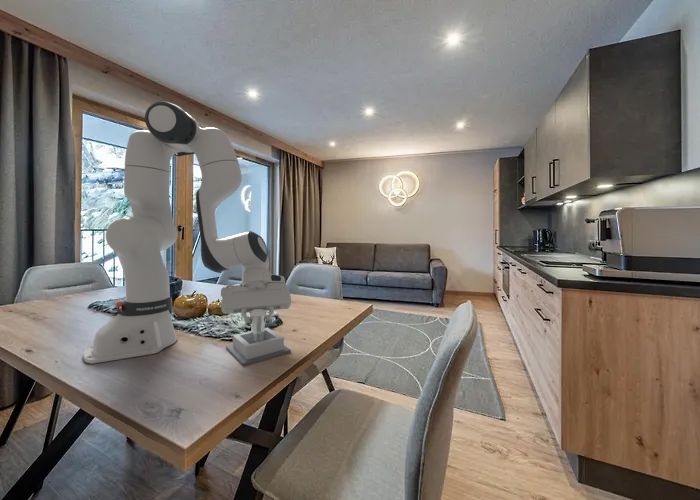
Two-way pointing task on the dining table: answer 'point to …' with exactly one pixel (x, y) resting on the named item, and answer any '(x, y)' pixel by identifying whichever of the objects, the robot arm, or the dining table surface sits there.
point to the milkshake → (257, 324)
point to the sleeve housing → (257, 347)
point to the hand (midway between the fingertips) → (258, 322)
